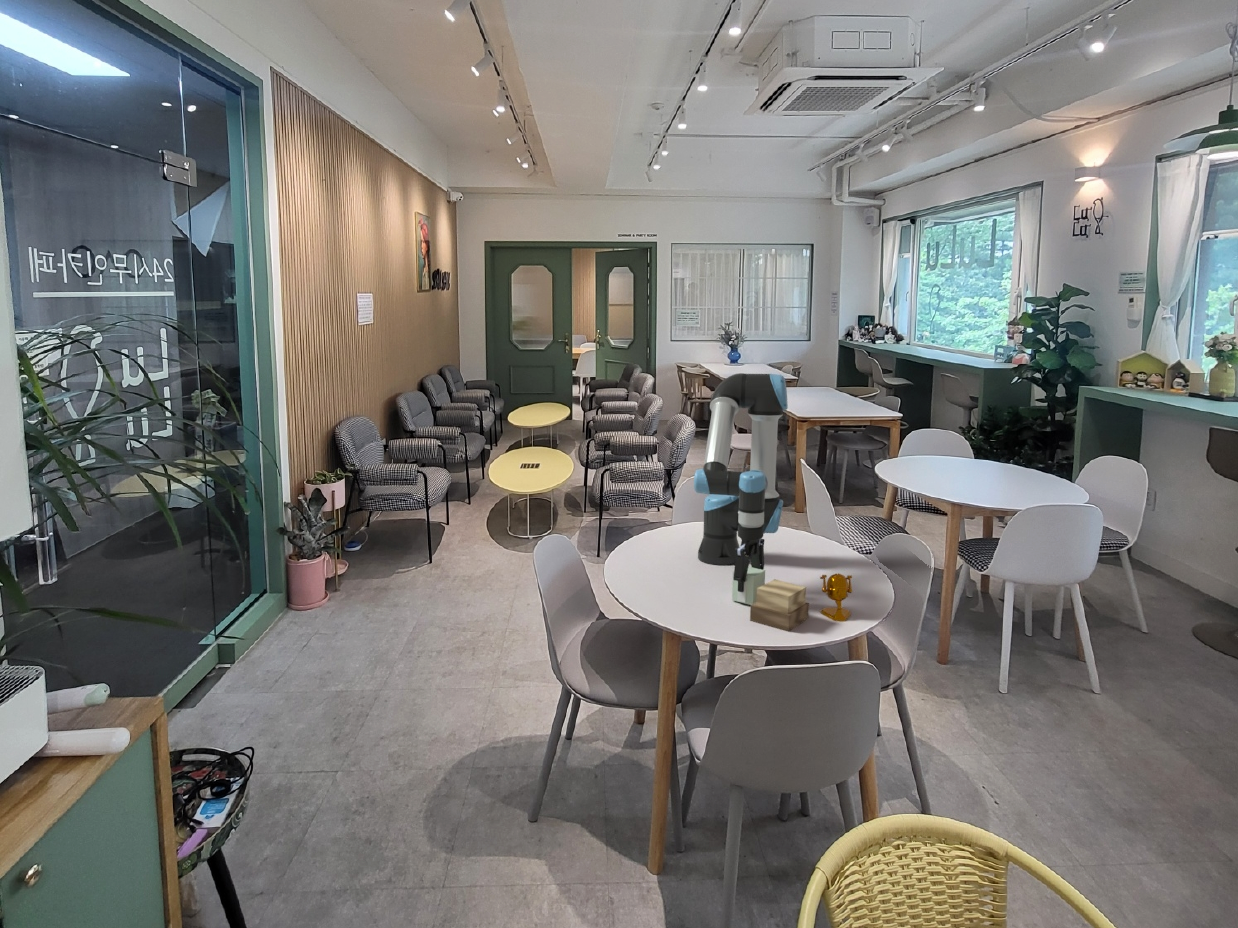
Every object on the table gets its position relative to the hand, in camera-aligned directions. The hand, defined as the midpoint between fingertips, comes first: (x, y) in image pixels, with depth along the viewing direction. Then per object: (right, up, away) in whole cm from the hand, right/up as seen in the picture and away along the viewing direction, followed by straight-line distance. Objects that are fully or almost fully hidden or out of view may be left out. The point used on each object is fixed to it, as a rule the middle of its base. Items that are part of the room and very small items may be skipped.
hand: (748, 597), depth 245 cm
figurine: (+24, -3, -10) cm, 26 cm away
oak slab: (+7, 0, -15) cm, 17 cm away
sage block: (0, -1, 0) cm, 1 cm away
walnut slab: (+7, -4, -14) cm, 16 cm away
